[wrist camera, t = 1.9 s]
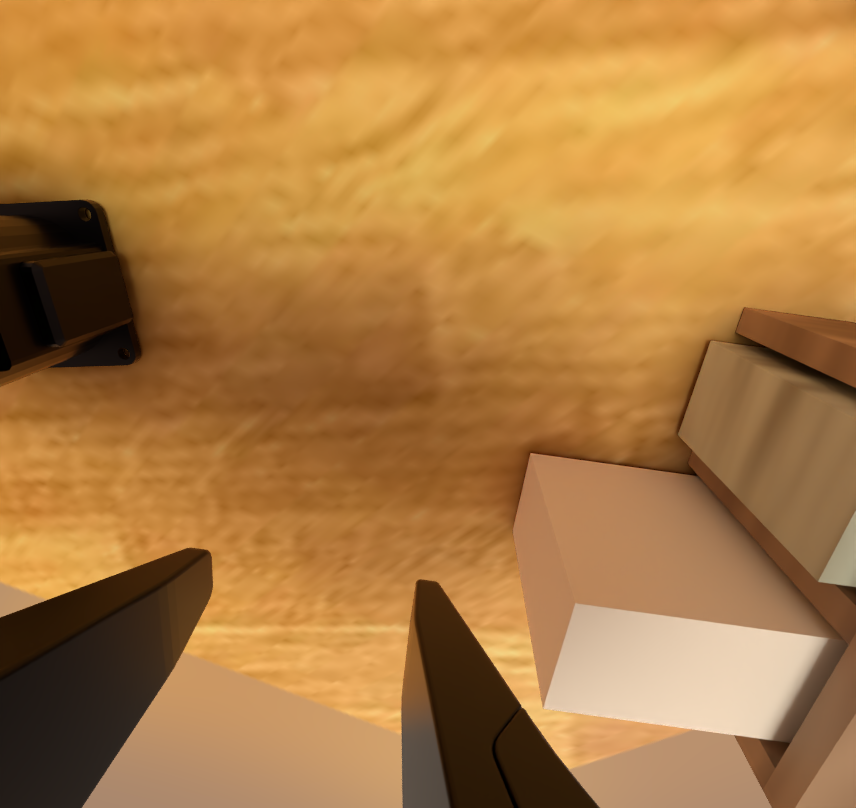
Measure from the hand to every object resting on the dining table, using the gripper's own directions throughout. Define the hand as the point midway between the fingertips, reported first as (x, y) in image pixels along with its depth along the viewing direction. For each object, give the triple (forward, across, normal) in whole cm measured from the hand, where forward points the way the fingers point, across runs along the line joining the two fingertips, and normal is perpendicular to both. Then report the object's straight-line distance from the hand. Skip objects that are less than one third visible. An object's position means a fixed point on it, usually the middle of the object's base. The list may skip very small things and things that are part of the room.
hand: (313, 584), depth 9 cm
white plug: (+13, +12, -5) cm, 18 cm away
